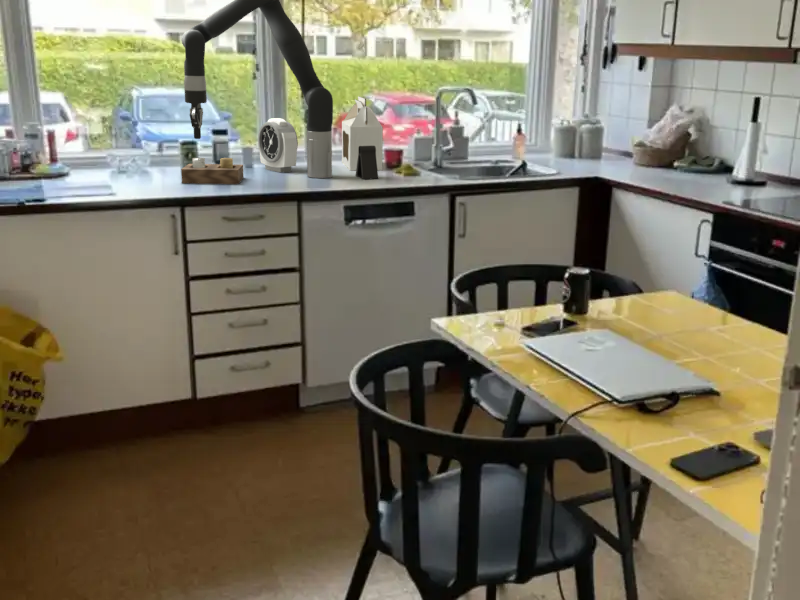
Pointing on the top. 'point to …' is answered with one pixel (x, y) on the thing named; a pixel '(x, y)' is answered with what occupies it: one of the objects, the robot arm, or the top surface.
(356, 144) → the gable box
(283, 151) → the alarm clock
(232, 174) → the block
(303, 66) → the robot arm
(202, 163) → the steel bushing
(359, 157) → the door stopper
